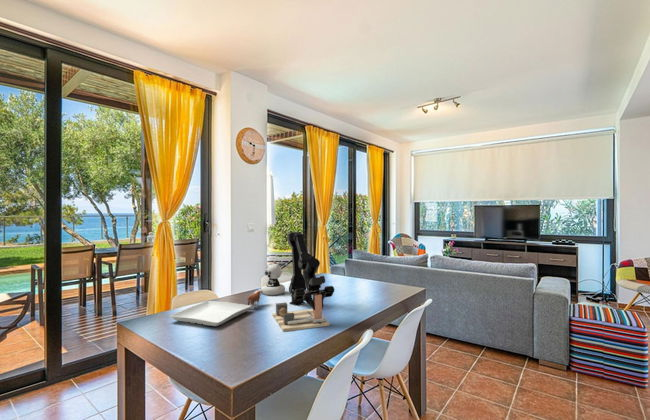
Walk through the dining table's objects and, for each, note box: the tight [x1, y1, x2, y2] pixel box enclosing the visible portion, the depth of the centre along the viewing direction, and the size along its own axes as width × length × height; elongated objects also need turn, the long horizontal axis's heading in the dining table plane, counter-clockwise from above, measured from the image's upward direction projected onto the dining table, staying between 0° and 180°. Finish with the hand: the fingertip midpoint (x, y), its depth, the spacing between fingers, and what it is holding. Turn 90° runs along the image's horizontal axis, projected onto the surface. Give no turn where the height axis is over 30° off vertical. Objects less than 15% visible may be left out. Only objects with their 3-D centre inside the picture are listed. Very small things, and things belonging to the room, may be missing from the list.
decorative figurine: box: [260, 261, 286, 296], centre depth 205 cm, size 15×15×20 cm
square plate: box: [169, 300, 252, 327], centre depth 160 cm, size 27×27×4 cm
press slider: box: [283, 293, 327, 325], centre depth 148 cm, size 6×18×12 cm, turn 110°
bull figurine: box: [247, 288, 265, 310], centre depth 177 cm, size 4×13×8 cm, turn 161°
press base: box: [272, 302, 331, 333], centre depth 154 cm, size 23×21×6 cm
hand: (318, 309), depth 149 cm, fingers closed on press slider, 3 cm apart
